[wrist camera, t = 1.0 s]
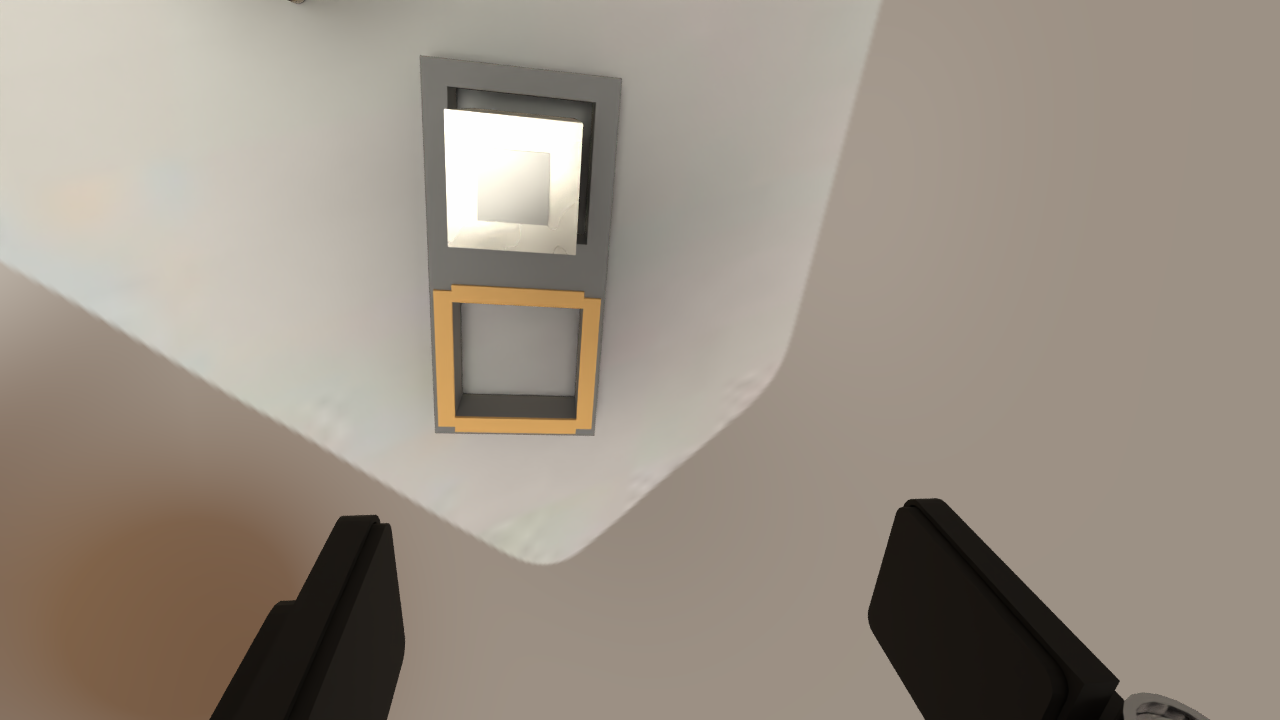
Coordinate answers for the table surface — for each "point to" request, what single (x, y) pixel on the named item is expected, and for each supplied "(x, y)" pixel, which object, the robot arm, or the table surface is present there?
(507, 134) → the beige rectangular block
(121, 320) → the table surface
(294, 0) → the coffee box
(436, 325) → the frame with rectangular openings
